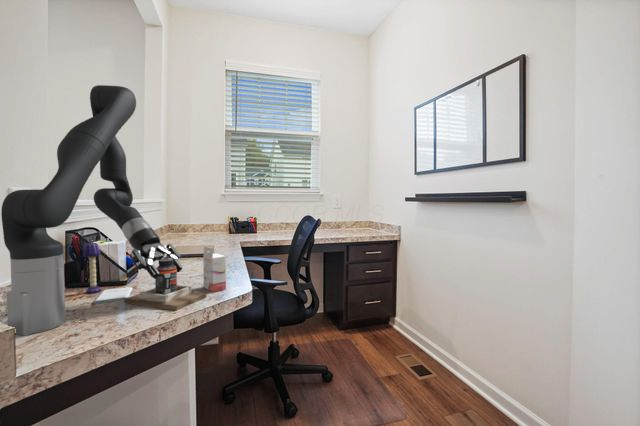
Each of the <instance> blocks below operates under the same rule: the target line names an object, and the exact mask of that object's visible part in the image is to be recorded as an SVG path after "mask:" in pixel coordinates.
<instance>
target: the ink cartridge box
mask: <svg viewBox="0 0 640 426" xmlns="http://www.w3.org/2000/svg"><path fill="white" fill-rule="evenodd" d="M202 258H203V259H202V260H203V263H202V264H203V288H205V289H206V290H209V291H211V292H213V293H214V292H219V291H225V290H227V279H226V278H227V276H226V275H227V274H226V268H227V266H226V265H227V264H226V263H227V261H226V260H227V259H226V255H222V254H219V253H216V252H215V253H214V249H213V248H211V247H209V246H203V257H202Z"/></svg>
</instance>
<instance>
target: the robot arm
mask: <svg viewBox="0 0 640 426" xmlns="http://www.w3.org/2000/svg"><path fill="white" fill-rule="evenodd" d="M89 102H90V108H91V114H92V117H90V118H88V119H86V120H83V121H81V122H79V123H78V124H76V125H75V126H74V127H72V128H71V129H70V130H69V131H68V132H67V133H66V134H65V136H64V137H63V139H62V140H61V141H60V143H59V144H58V145H57V151H56V156H57V163H58V167H57V168H58V169H57V171H56V173H55V175H53V178H52V179H51V181H50V182H49V183H47V185H46V186H45V187H44V188H43V189H17V190H14V191H11V192H10V193H8V194H7V195H6V196H5V198H4V199H3V201H2V205H1V214H0V215H1V226H2V233H3V243H4V245H5V247H6V249H7V250H8V252H9V259H10V261H9V262H10V285H11V286H10V287H11V288H10V289H11V290H8V291H7V292H6V306H7V307H6V311H7V312H6V313H7V314H6V315H7V327H8V326H12V327H15V329H16V334H15V335H20V336H28V335H30V334H36V333H41V332H45V331H49V330H52V329H55V328H58V327H59V326H61V325H63V324H65V323H66V315H67V313H66V293H65V287H66V286H65V263H64V262H65V259H64V245H63V243H62V241H61V242H60V241H58V240H56V239H54V238H53V237H51V236H50V235H49V234H48V231H47V229H49V228H56V227H59V226H61V225H63V224H64V223H66V221H67V220H68V219H69V217H70V216H71V215H72V213H73V210H74V209H75V207H76V204H77V202H78V200H79V198H80V196H81V192H82V191H83V189H84V187H85V185H86V183H87V181H88V180H89V177H90V176H91V175H92V173H93V171H94V169H95V168H96V166H97V165H98V163H99V174H100V175H99V176H100V178H101V179H102V180H104V181H107V182H110V183H112V184H113V187H114V188H112V187H111V188H109V187H108V188H105V187H104V188H99V189H98V190H96V191H95V193H94V194H93V202H94V204H95V207H96V208H97V209H98V210H99V211H100V212H101V213H103V214H104V215H105V216H107V217H108V218H109V219H111V220H112V221H114V222H115V223H116V225H117V226H118V228H119V229H120V230H121V232H122V233H123V235H124V237H125V239H126V241H127V242H128V243H129V245H131V247H132V248H133V249H132V250H131V252H130V253H129V254H128V256H129V258H130V259H131V261H132V263H133V264H134V266H135V267H136V268H137V269H136V270H139V271H141V270H142V269H143V270H144V271H147V273H148V274H149V275H150V277H151V278H153V279H156V278H158V276H159V275H160V273H159V271H158V270H157V269H156V268H157V267H156V266H155V265H154V264H153V262H156V261H159V260H161V259H173V264H174V266H176V267H177V273H180V272H181V271H182V269H183V265H182V264H181V263H180V261H179V258H180V257H181V254H180V252H179V251H178V250H177V249H176V248H175V247H174V246H173V245H172V243H170V242H169V243H168V244H167V245H163V244H162V243H161V238H160V237H159V235H158V234H157V233H156V231H155V230H154V229H153V227H152V226H151V225H150V223H148V221H146V219H145V218H143V215H141V213H140V212H139V211H138V209H137V208H135V207H133V206H131V205H132V204H133V200H134V199H133V192H132V188H131V187H130V186H131V185H130V183H129V179H128V176H127V156H126V153H125V150H124V148H123V147H122V144H121V143H120V141H119V139H118V138H117V136H116V135H117V134H118V133H119V131H120V130H121V129H122V127H123V126H124V125H125V124H126V123H127V122H128V121H129V120H130V118H131V117H132V116H133V115H134V113H135V111H136V107H137V99H136V96H135V94H134V92H133V91H132V90H131V89H130V88H127V87H125V86H120V85H104V84H101V85H99V84H98V85H95V86H93V87H92V88H91V90H90V92H89ZM165 255H166V256H165Z"/></svg>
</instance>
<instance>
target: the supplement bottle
mask: <svg viewBox="0 0 640 426" xmlns="http://www.w3.org/2000/svg"><path fill="white" fill-rule="evenodd" d="M156 269H157V270H158V271H159V273H160V275H159V276H158V278H156V279H155V280H154V281H155V287H154V288H155V292H156V294H163V295H166V294H169V293H172V292H175V291H177V285H178V279H177V278H178V272H177V267H176V266H174V264H173V259H172V258H169V259H161V260H158V266H157V267H156Z"/></svg>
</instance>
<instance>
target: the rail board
mask: <svg viewBox="0 0 640 426" xmlns="http://www.w3.org/2000/svg"><path fill="white" fill-rule="evenodd" d="M205 298H207V293H205V292H204V293H203V292H196V291H192V286H187V285H179V284H177V291H175V292H172V293H169V294H166V295H163V294H156V292H155V287H153V288H150V289H146V290H144V291H141V292H139V293H138V294H135V295H131V296H129V297H128V298H125V299H124V303H125V304H131V305H139V306H145V307H150V308H151V307H153V308H158V309H166V310H170V311H179V310H181V309H183V308H185V307H187V306H190V305H192V304H194V303H197V302H199V301H202V300H203V299H205Z"/></svg>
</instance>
